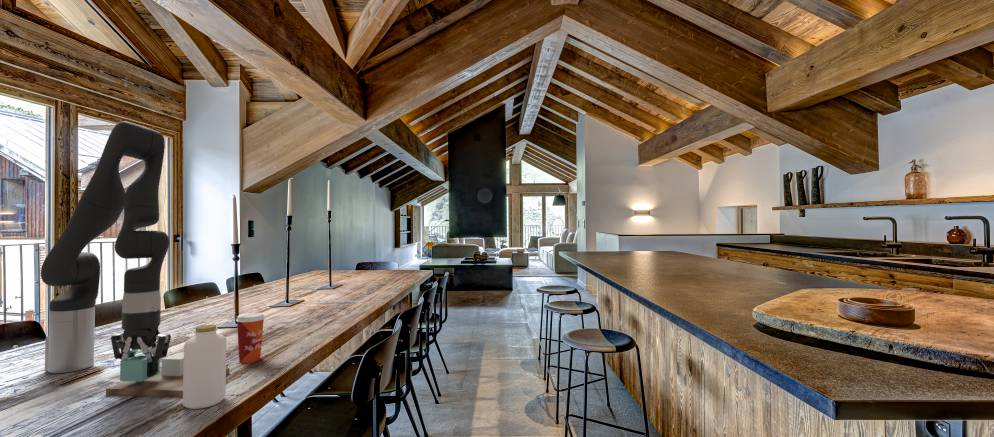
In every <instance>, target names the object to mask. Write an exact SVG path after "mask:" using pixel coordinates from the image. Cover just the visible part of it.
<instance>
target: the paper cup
mask: <svg viewBox="0 0 994 437" xmlns="http://www.w3.org/2000/svg"><path fill="white" fill-rule="evenodd" d="M265 318H266V317H265V316H264V313H263V312H247V313H246V312H245V313H242V314H239V315H237V317H236V320H235V322H236V323H237V325H236V326H237V345H238V362H239V363H240V364H252V363H256V362H258V361H260V360H261V355H262V346H263V344H262V343H263V334H264V332H263V330H264V320H265Z"/></svg>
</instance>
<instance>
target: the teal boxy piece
mask: <svg viewBox="0 0 994 437" xmlns="http://www.w3.org/2000/svg"><path fill="white" fill-rule="evenodd" d="M152 356H153V354H152ZM147 363H148V361H147V358H146V355H145V354H143V353H138V354H135V356H133V357H130V358H127V359H124V360H122V361H121V360H120V364H119V365H120V366H119V367H120V368H119V369H120V371H119V381H120V382H123V381H139V382H141V381H144V380H146V379H148V378H151V377H153V376H151V377H147ZM160 364H161V359H159V360H158V372H157V373H156V374H155V375H157V374H159V373H160ZM155 375H154V376H155Z"/></svg>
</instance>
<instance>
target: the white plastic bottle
mask: <svg viewBox="0 0 994 437" xmlns="http://www.w3.org/2000/svg"><path fill="white" fill-rule="evenodd" d="M217 331H218V328H217V325H216V324H203V325H197V326H195V330H194V334H195V335H194V336H192V337H190V338H188V339H187V340H186V341H185V342H184V343H183V344H184V345H183V353H184V364H183V397H182V405H183V406H184V407H185V408H186V409H192V410H197V409H199V410H200V409H205V408H206V409H207V408H209V407H213V406H216V405H217V404H219V403H221V402H222V401H223V400H224V399H225V398H226V391H227V390H226V388H227V384H226V382H227V375H226V368H227V337H226V336H225V335H223V334H221V333H217Z"/></svg>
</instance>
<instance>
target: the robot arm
mask: <svg viewBox="0 0 994 437" xmlns="http://www.w3.org/2000/svg"><path fill="white" fill-rule="evenodd" d="M104 145H105V146H104V148H103V151H102V153H101V155H100V158H99V161H98V164H97V166H96V168H95V169H94V172H93V173H92V174H93V175H92V176H91V178H90V180H89V182H88V183H87V186H86V187H85V189H84V190H83V193H82V195H80V198H79V200H78V202H77V204H76V207H75V208H74V211H73V214H71V217H70V218H69V220H68V222H67V224H66V226H65V228H64V229H63V232H62V233H61V235H60V236H59V238H58V239H57V241H56V243H54V244H53V246H52V248H51V250H50V251H49V252H48V254H47V255H46V257H45V259H44V260H43V263H42V265H41V269H40V278H41V280H42V282H43V283H44V284H45V285H46V286H50V287H65V286H66V287H67V286H69V289H68V290H67V291H66V292H64V293H63V294H61V295H58V296H57V297H55V298H52V299H51V301H50V302H49V307H48V308H49V310H48V311H49V316H48V317H49V318H48V319H49V320H48V321H49V322H48V323H49V324H48V325H49V326H48V336H46V337H45V339H44V340H45V342H44V344H45V345H44V371H45V372H48V373H49V374H65V373H71V372H77V371H81V370H85V369H88V368H90V367H92V366H94V362H95V321H96V320H95V319H96V318H95V317H96V300H97V298H98V296H99V289H100V278H101V264H100V263H101V262H100V260H99V258H98V256H97V255H96V254H94V253H93V252H89V251H83V250H84V249H85V248H86V247H87V246H88V244H90V243H91V242H92V241H94V240H95V239H96V238H98V237H99V236H100V235H102V234H104V233H105V232H106V231H108V230H109V229H111V228H112V227H113V225H115V223H117V221H118V220H119V218H120V216H121V214H122V212H123V222H122V225H121V228H120V230H119V232H118V235H117V238H116V240H115V243H114V250H115V253H116V254H117V256H118V257H120V258H122V259H125V260H126V259H128V260H129V259H149V258H150V261H149V262H148V263H147V264H145V265H141V266H137V267H133V268H129V269H126V270H125V272H124V276H123V295H122V302H121V305H122V306H121V329H122V330H124V331H123V332H121V333H119V334H118V333H117V334H115V335H111V337H110V342H111V346H112V347H111V348H112V350H113V357H114V359H116V360H120V361H122V360H124V359H127V358H130V357H133V356H136V355H137V352H138V351H139V350H140V351H141V352H142V354H145V355H146V358H147V361H148V363H147V377H151V376H154V375H155V374H156V373H157V372H158V360H159V359H160V360H162V359H163V358H166V357H168V350H169V347H170V342H171V339H172V335H171V334H161V333H160V331H159V327H160V325H161V316H162V315H161V309H162V306H161V305H162V297H161V292H160V291H161V287H160V286H161V272H162V266H163V263H164V261H165V257H166V255H167V252H168V250H169V247H170V237H169V236H168V234H167V233H166V232H165V231H162V230H138V229H141V228H146V227H151V226H154V225H156V224H157V223H158V222H159V221H160V207H159V206H160V204H159V190H160V181H161V177H162V176H161V175H162V171H163V163H164V156H165V148H166V142H165V137H164V135H163V133H162V132H159V131H158V130H155V129H152V128H149V127H146V126H143V125H140V124H136V123H134V122H131V121H126V120H121V121H118V122H117V123H116V124H115V125H114V126H113V127H112V129H111V131H110V133H109V136H108V139H107V141H106V142H105V144H104ZM124 156H125V157H129V158H132V159H133V158H134V159H138V160H140V161H143V162H144V169H143V171H142V172H141V173H140V175H138V177H137V178H135V179H134V181H132V182H131V184H130V185H129V186H127V189H125V187H124V184H123V182H122V178H121V176H120V164H121V161H122V159H123V157H124ZM152 354H153V356H152Z"/></svg>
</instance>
